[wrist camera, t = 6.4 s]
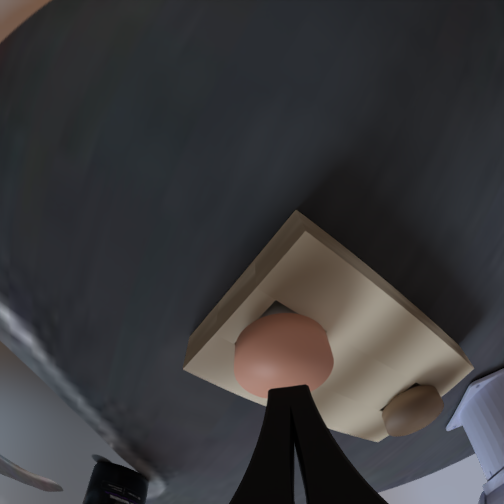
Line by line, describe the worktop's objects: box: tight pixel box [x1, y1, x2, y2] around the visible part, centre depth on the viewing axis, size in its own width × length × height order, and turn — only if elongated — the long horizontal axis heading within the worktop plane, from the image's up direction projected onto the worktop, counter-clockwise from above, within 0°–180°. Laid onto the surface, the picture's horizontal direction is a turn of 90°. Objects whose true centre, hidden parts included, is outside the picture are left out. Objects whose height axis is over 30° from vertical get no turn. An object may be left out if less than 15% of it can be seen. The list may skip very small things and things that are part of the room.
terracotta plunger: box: [234, 300, 334, 399], centre depth 13 cm, size 4×4×4 cm
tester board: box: [183, 210, 474, 442], centre depth 16 cm, size 16×9×2 cm, turn 54°
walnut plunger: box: [382, 383, 444, 436], centre depth 17 cm, size 4×4×4 cm
